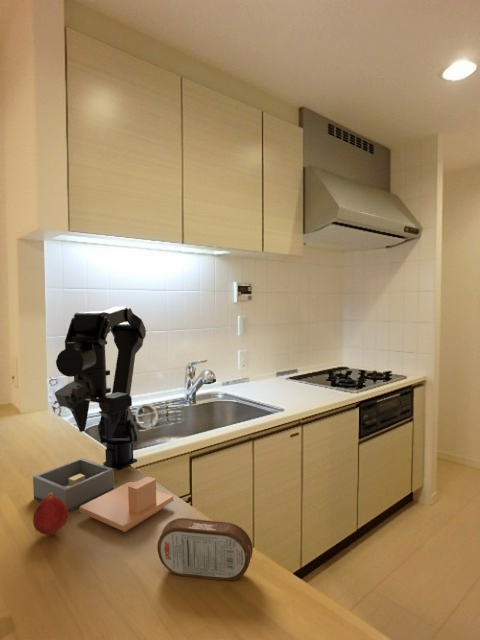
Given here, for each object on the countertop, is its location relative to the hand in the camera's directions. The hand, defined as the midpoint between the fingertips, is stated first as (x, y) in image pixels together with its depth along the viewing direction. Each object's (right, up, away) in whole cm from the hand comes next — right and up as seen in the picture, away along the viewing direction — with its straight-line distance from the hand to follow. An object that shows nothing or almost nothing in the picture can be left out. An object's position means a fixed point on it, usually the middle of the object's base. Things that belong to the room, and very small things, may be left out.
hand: (95, 434), depth 92 cm
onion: (-2, -14, -17) cm, 22 cm away
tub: (-4, -13, -2) cm, 14 cm away
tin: (+27, -14, -29) cm, 42 cm away
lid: (+10, -13, -10) cm, 19 cm away
